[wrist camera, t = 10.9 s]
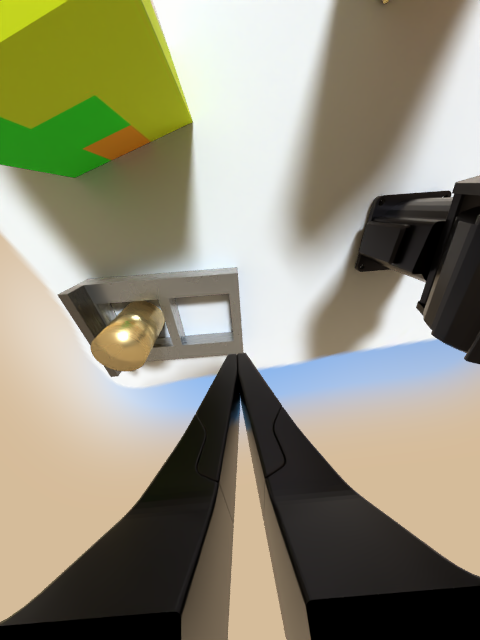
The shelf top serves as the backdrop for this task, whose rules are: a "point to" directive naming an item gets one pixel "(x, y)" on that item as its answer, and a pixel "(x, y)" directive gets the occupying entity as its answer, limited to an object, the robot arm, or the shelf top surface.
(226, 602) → the robot arm
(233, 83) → the shelf top surface
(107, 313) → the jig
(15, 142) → the puzzle toy
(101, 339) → the gold metal cylinder
